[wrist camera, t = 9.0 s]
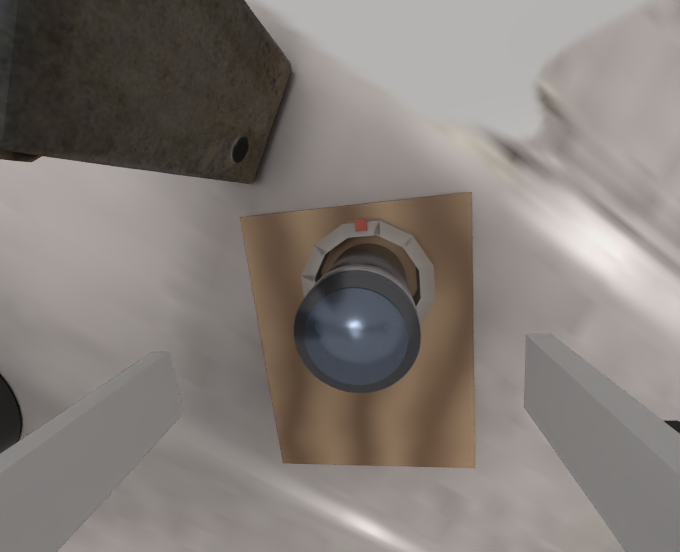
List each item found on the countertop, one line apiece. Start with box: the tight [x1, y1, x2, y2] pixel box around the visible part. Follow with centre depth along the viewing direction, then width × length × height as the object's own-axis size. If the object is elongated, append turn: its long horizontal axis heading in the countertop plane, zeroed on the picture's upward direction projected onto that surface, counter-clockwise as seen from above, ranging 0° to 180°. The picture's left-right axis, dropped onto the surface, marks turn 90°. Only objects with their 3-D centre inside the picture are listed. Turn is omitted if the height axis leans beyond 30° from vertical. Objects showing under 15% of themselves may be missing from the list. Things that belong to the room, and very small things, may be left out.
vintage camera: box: [0, 0, 291, 184], centre depth 16 cm, size 10×15×20 cm, turn 66°
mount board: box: [240, 192, 475, 468], centre depth 26 cm, size 18×24×4 cm
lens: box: [294, 243, 421, 393], centre depth 20 cm, size 6×6×11 cm
